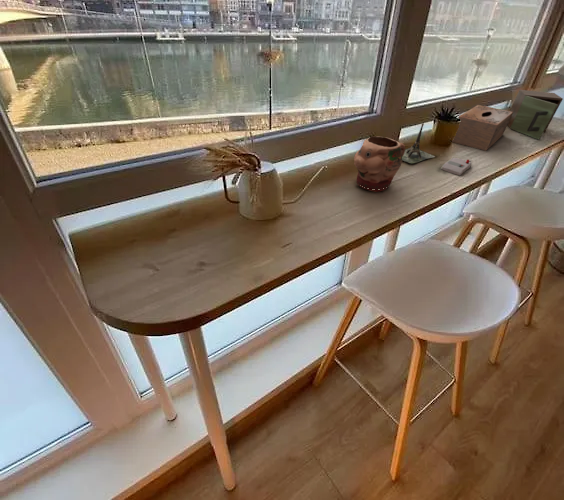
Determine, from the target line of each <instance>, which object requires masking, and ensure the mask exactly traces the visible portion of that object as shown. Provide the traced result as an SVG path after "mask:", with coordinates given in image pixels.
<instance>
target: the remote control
mask: <svg viewBox="0 0 564 500" xmlns="http://www.w3.org/2000/svg"><path fill="white" fill-rule="evenodd" d="M472 164H473V163H472V159H463V158H458V157H452V158H450V159H449V160H448V161H446V162H445V163H443V164H442V166H441V168H440V170H442V171H444V172H448V173H451V174H454V175H457V176H461V175H463V174H464V173H465V172H466V171H467V170H469V169H470V168H471V166H472Z"/></svg>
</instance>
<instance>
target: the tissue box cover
mask: <svg viewBox="0 0 564 500" xmlns="http://www.w3.org/2000/svg"><path fill="white" fill-rule="evenodd" d="M512 114H513V112H511V111H510V110H505V109H500V108H497V107H491V106H486V105H481V104H476V105H475V106H473V107H472V108H470V109H469V110H467V111H465V112H463V113H462V114H460V115H458V116H457V119H458V118H459V119H460V120H461V122H460V125H459V128H458V131H457V133H456V136H455V138H454V140H452V142H451V143H454V144H459V145H463V146H466V147H471V148H474V149H477V150H481V151H485V152H487V151H488V150H489V149H490V148H491V147H492V146H493V145H494V144H495V143H496V142H498V140H500V138H501V137H503V136H504V134H505V131H506V129H507V126H508V123H509V120H510V118H511V116H512Z"/></svg>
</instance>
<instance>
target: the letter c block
mask: <svg viewBox="0 0 564 500" xmlns="http://www.w3.org/2000/svg"><path fill="white" fill-rule="evenodd" d="M557 106H558V105H557V104H554V103H550V102H547V101H543V100H540V99H536V98H533V97H529V96H525V98H524V100H523V102H522V104H521V106H520V108H519V111H518V113H517V115H516V117H515V119H514V121H513V123H512V126H511V128H510V127H509V129H510V130H513V131H515V132H518V133H520V134H523V135H526V136H527V137H528V136H529V137H531V138H533V139H536V140H540V139H541V137H542V136H543V134H544V133H545V132H544V130H545V128H546V126H547V124H548V122H549V121H550V119H551V117H552V115H553V113H554V111H555V109H556V108H557Z"/></svg>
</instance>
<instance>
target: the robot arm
mask: <svg viewBox="0 0 564 500" xmlns="http://www.w3.org/2000/svg"><path fill="white" fill-rule="evenodd" d="M557 72H558V74H559V75H561V76H563V77H564V63H563V64H562V65H561V67H560V68H559V69H558V70H557Z"/></svg>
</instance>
